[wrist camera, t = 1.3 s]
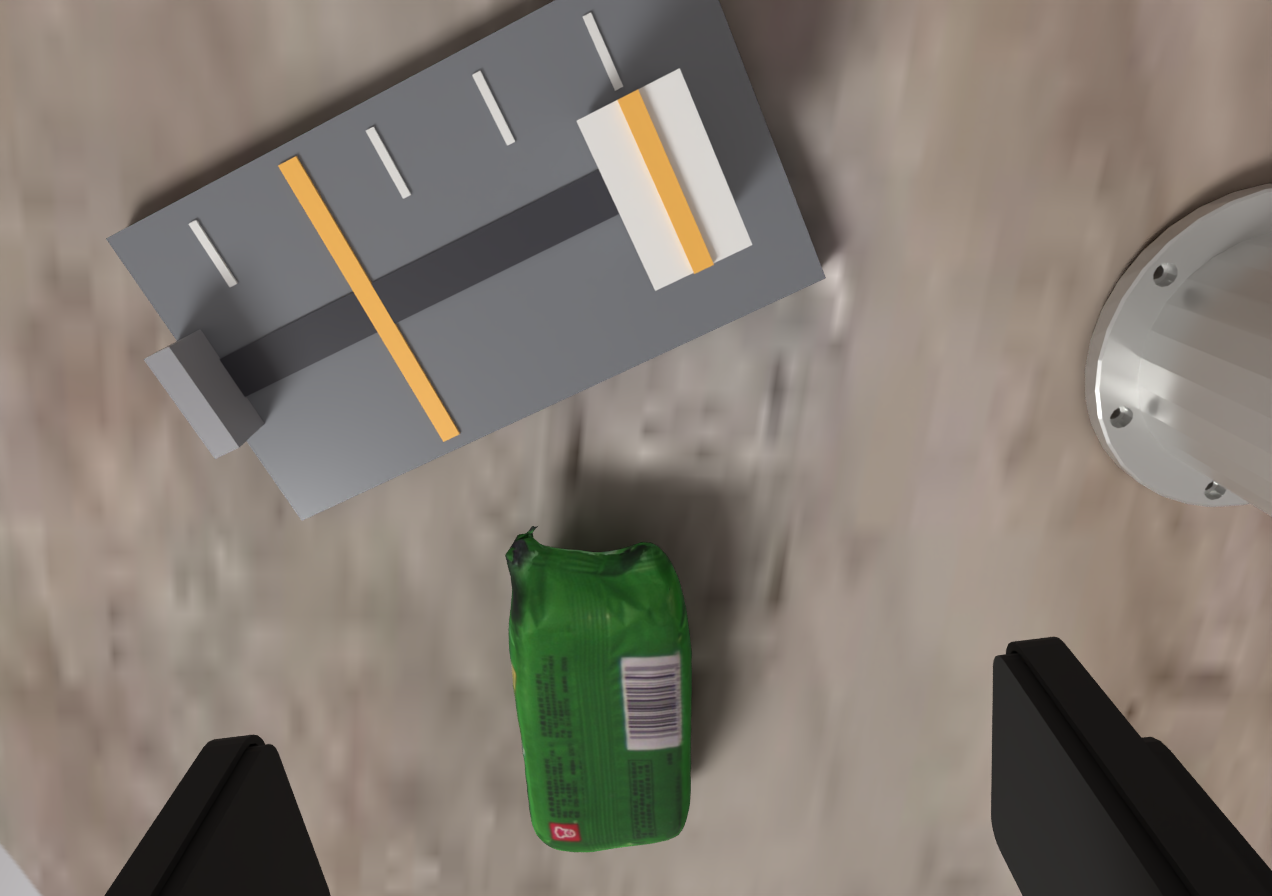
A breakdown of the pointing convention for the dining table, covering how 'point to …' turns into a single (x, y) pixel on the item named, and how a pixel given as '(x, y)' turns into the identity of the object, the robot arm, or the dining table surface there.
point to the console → (452, 252)
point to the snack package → (601, 693)
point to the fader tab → (665, 180)
